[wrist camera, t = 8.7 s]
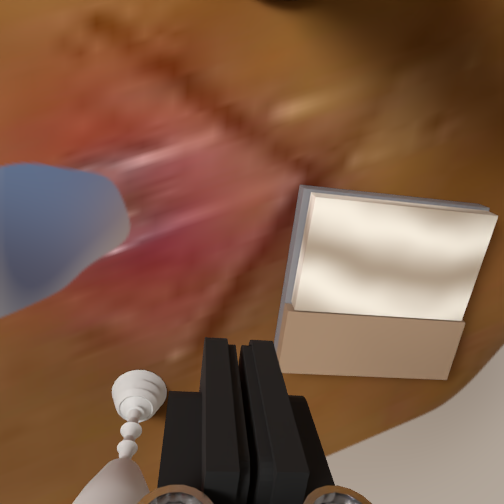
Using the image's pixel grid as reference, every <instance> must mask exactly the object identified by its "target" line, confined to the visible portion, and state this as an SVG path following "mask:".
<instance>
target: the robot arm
mask: <svg viewBox="0 0 504 504" xmlns="http://www.w3.org/2000/svg"><path fill="white" fill-rule="evenodd" d="M137 504H372V503H371V502H369V501H368V500H367V499H366V498H365V497H364V496H362V495H360V494H359V493H357V492H355V491H353V490H351V489H348V488H345V487H341V486H335V484H334V482H333V478H332V475H331V473H330V470H329V467H328V464H327V460H326V457H325V455H324V452H323V449H322V446H321V443H320V440H319V437H318V434H317V431H316V428H315V425H314V422H313V419H312V416H311V413H310V410H309V407H308V404H307V401H306V399H305V397H303V396H293V395H288V393H287V390H286V386H285V383H284V379H283V376H282V372H281V368H280V365H279V361H278V358H277V354H276V351H275V347H274V343H273V341H263V340H250V342H249V346H246V345H242V346H241V351H240V358H239V365H238V361H237V353H236V345H228V341H227V339H226V338H207V337H205V341H204V351H203V360H202V370H201V380H200V390H199V392H181V391H169V396H168V404H167V413H166V421H165V429H164V437H163V446H162V454H161V462H160V470H159V479H158V487H157V489H155V490H154V491H152V492H150V493H148V494H147V495H145V496H144V497H143V498H142V499H141V500H140V501H139V502H138V503H137Z"/></svg>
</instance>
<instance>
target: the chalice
mask: <svg viewBox="0 0 504 504" xmlns="http://www.w3.org/2000/svg"><path fill="white" fill-rule="evenodd" d="M166 395H167V389H166V386H165V383H164V382H163V381H162V379H161V378H160V377H159V376H157V375H156V374H154V373H152V372H149V371H146V370H133V371H129V372H126V373H125V374H123V375H121V376H120V377H119V378H118V379H117V380H116V381H115V383H114V385H113V387H112V397H113V399H114V403H115V406H116V410H117V412H118V414H119V415H120V416H121V417H122V418H124V419H125V420H127V421H128V422H127V423H125V424H124V425H123V426H122V427H121V431H120V432H121V435H122V436H123V437H124V439H123V441H122V442H120V443H119V444H118V446H117V450H118V452H119V459H115V460H112V461H111V462H109V463H108V464H107V465H106V466H105V467H104V468H103V469H102V470H101V471H100V472H99V473H98V474H97V475H96V476H95V477H94V478H93V479H92V480H91V481H90V482H89V483H88V484H87V485H86V486H85V487H84V489H83V490H82V491H81V493H80V494H79V495H78V497H77V498H76V499H75V501H74V502H73V504H137V503H138V502H139V501H140V500H141V499H142V498H143V497H144V496H145V495H147V494H148V493H150V492H149V489H148V486H147V484H146V482H145V479H144V477H143V475H142V472H141V470H140V468H139V466H138V465H137V464H136V463H135V462H134V461H132V460H131V458H132V456H133V455H134V454H135V453H136V451H137V448H138V447H137V444H136V443H135V439H136V438H137V437H139V436H140V435H141V433H142V428H141V426H140V425H139V424H138V422H142V421H146V420H148V419H149V418H151V417H152V416H153V415H154V414H155V413H156V411H157V410H158V409H159V407H160V406H161V405H162V404H163V403H164V401H165V399H166Z"/></svg>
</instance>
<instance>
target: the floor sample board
mask: <svg viewBox="0 0 504 504" xmlns="http://www.w3.org/2000/svg"><path fill="white" fill-rule="evenodd" d="M311 192H314V193H324V194H333V195H343V196H352V197H362V198H371V199H381V200H390V201H400V202H409V203H419V204H428V205H438V206H447V207H457V208H466V209H476V210H485V211H489V209H490V208H488V207H485V206H483V205H480V204H475V203H465V202H456V201H447V200H437V199H428V198H419V197H409V196H400V195H391V194H382V193H372V192H363V191H354V190H344V189H335V188H326V187H316V186H307V185H300V187H299V194H298V200H297V206H296V212H295V218H294V224H293V230H292V236H291V243H290V249H289V255H288V261H287V267H286V273H285V279H284V286H283V292H282V298H281V304H280V310H279V316H278V322H277V328H276V335H275V341H274V347H275V351H276V354H277V358H278V361H279V365H280V368H281V372H282V373H298V374H321V375H344V376H367V377H390V378H413V379H436V380H447V378H448V375H449V372H450V369H451V366H452V362H453V359H454V356H455V353H456V350H457V347H458V344H459V341H460V338H461V335H462V332H463V329H464V326H465V322H464V321H463V320H462V321H454V320H438V319H423V318H407V317H392V316H377V315H361V314H346V313H330V312H315V311H299V310H294V307H293V305H292V302H291V300H292V294H293V289H294V283H295V278H296V272H297V267H298V261H299V256H300V250H301V245H302V239H303V234H304V228H305V223H306V217H307V212H308V206H309V201H310V195H311Z"/></svg>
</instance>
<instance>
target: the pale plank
mask: <svg viewBox="0 0 504 504" xmlns="http://www.w3.org/2000/svg"><path fill="white" fill-rule="evenodd" d="M497 219H498V216H497V215H495V214H493V213H491V212H489V211H485V210H476V209H466V208H457V207H447V206H438V205H428V204H419V203H409V202H400V201H390V200H381V199H371V198H362V197H352V196H343V195H333V194H324V193H314V192H311V195H310V201H309V206H308V212H307V217H306V223H305V228H304V234H303V239H302V245H301V250H300V256H299V261H298V267H297V272H296V278H295V283H294V289H293V294H292V300H291V302H292V305H293V307H294V310H299V311H315V312H330V313H346V314H361V315H377V316H392V317H407V318H423V319H438V320H454V321H462V318H463V316H464V313H465V310H466V307H467V304H468V301H469V299H470V296H471V293H472V290H473V287H474V284H475V281H476V279H477V276H478V273H479V270H480V267H481V264H482V261H483V259H484V256H485V253H486V250H487V247H488V244H489V241H490V239H491V236H492V233H493V230H494V227H495V224H496V221H497Z"/></svg>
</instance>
